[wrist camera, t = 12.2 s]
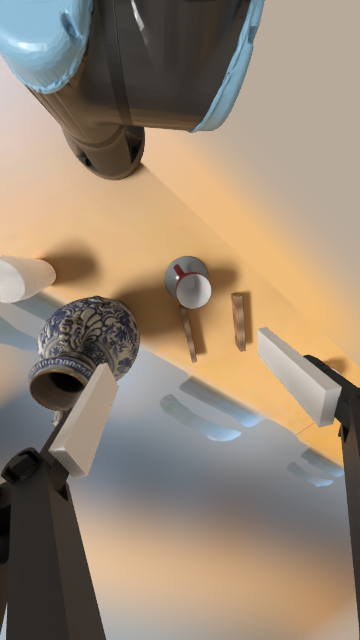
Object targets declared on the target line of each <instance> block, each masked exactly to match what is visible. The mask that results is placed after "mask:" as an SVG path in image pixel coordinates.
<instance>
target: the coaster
mask: <svg viewBox="0 0 360 640" xmlns="http://www.w3.org/2000/svg"><path fill="white" fill-rule="evenodd" d="M176 264H178V265H179V266H180V268H181V269H182V270H183V272H184V273H188V272H197V273H200V274H202V275H203V276H205V277H206V278H207V279H208V272H207V269H206V267H205V266H204V264H203V263H202V262H201V261H200V260H198V259H196V258H194V257H189V256H184V257H180V258H178V259H176V260H174V261H173V262H172V263H171V264H170V265H169V267H168V268H167V270H166V273H165V285H166V288H167V290H168V292H169V293H170V294H171V295H172V296H173V297H175V298H176V299H177V297H176V292H175V287H176V283H177V281H178V279H179V276H178V275H177V273H176V272H175V270H174V268H173V267H174V266H175V265H176Z"/></svg>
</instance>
